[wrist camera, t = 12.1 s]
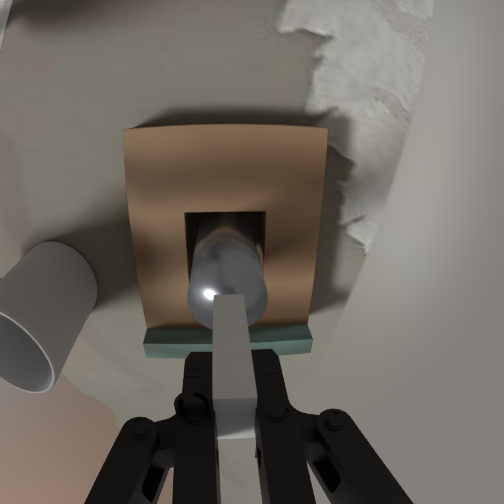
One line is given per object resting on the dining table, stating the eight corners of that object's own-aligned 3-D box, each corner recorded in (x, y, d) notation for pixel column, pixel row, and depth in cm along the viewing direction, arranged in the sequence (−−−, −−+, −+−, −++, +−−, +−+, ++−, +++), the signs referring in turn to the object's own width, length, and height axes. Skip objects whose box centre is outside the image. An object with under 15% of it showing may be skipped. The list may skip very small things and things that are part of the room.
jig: (134, 127, 22) (113, 132, 17) (315, 126, 23) (337, 130, 18) (155, 322, 29) (146, 357, 25) (298, 318, 31) (310, 352, 26)
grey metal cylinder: (196, 207, 25) (183, 265, 16) (252, 206, 25) (269, 263, 16) (199, 257, 27) (190, 332, 18) (250, 255, 27) (266, 330, 18)
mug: (98, 248, 26) (45, 323, 16) (100, 323, 29) (65, 406, 19) (-3, 228, 24) (-70, 282, 14) (7, 299, 27) (-42, 363, 17)
